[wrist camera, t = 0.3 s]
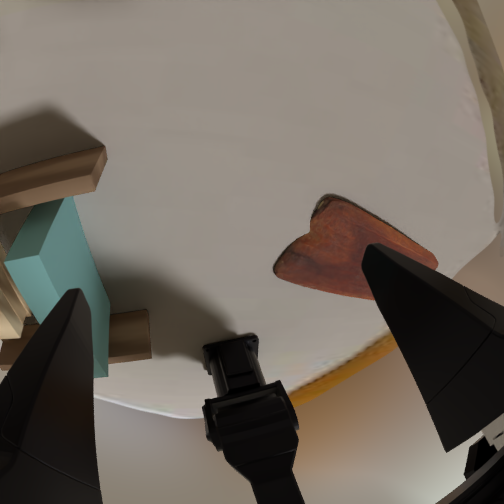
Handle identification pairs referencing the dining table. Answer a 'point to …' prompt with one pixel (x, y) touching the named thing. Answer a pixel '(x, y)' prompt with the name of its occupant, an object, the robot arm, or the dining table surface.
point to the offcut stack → (10, 304)
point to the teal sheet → (59, 269)
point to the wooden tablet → (342, 250)
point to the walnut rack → (56, 187)
